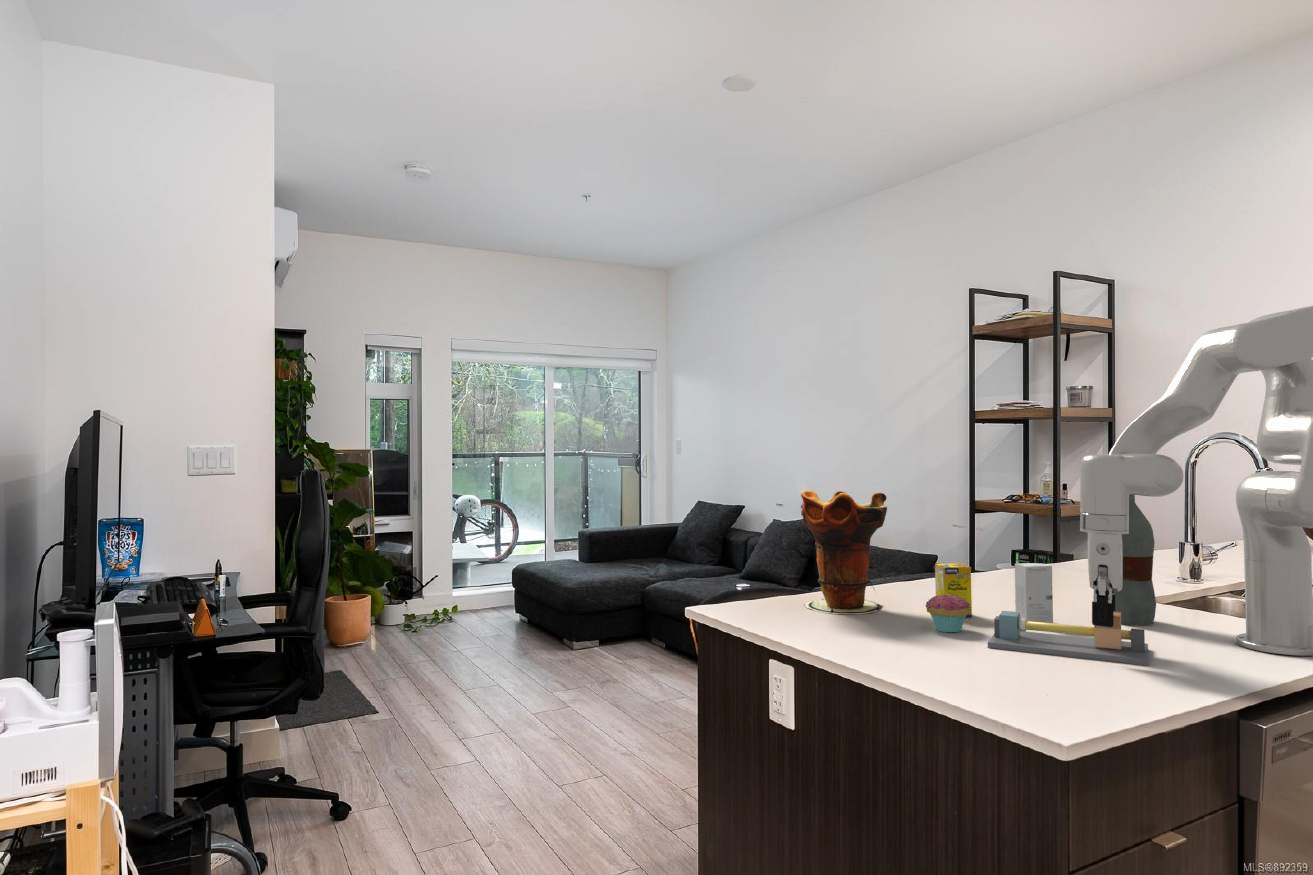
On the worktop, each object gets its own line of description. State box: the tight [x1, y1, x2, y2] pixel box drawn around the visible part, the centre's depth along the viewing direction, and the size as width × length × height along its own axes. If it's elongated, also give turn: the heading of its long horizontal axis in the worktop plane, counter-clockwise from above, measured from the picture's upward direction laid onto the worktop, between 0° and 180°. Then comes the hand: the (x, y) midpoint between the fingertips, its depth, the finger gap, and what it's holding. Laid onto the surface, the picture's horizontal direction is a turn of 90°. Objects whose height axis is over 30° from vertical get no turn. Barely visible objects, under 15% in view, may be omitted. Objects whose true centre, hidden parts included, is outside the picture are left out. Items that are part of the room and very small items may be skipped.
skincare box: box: [1014, 562, 1054, 623], centre depth 163 cm, size 6×4×12 cm
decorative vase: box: [800, 490, 888, 615], centre depth 183 cm, size 21×23×28 cm
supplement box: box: [934, 562, 973, 618], centre depth 172 cm, size 6×6×11 cm
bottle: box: [1112, 494, 1157, 627], centre depth 163 cm, size 9×9×30 cm
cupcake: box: [925, 570, 971, 633], centre depth 158 cm, size 9×8×12 cm
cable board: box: [987, 610, 1150, 667], centre depth 142 cm, size 25×12×5 cm, turn 58°
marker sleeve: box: [1093, 611, 1123, 649], centre depth 139 cm, size 4×5×6 cm
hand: (1103, 620), depth 139 cm, fingers open, 9 cm apart
